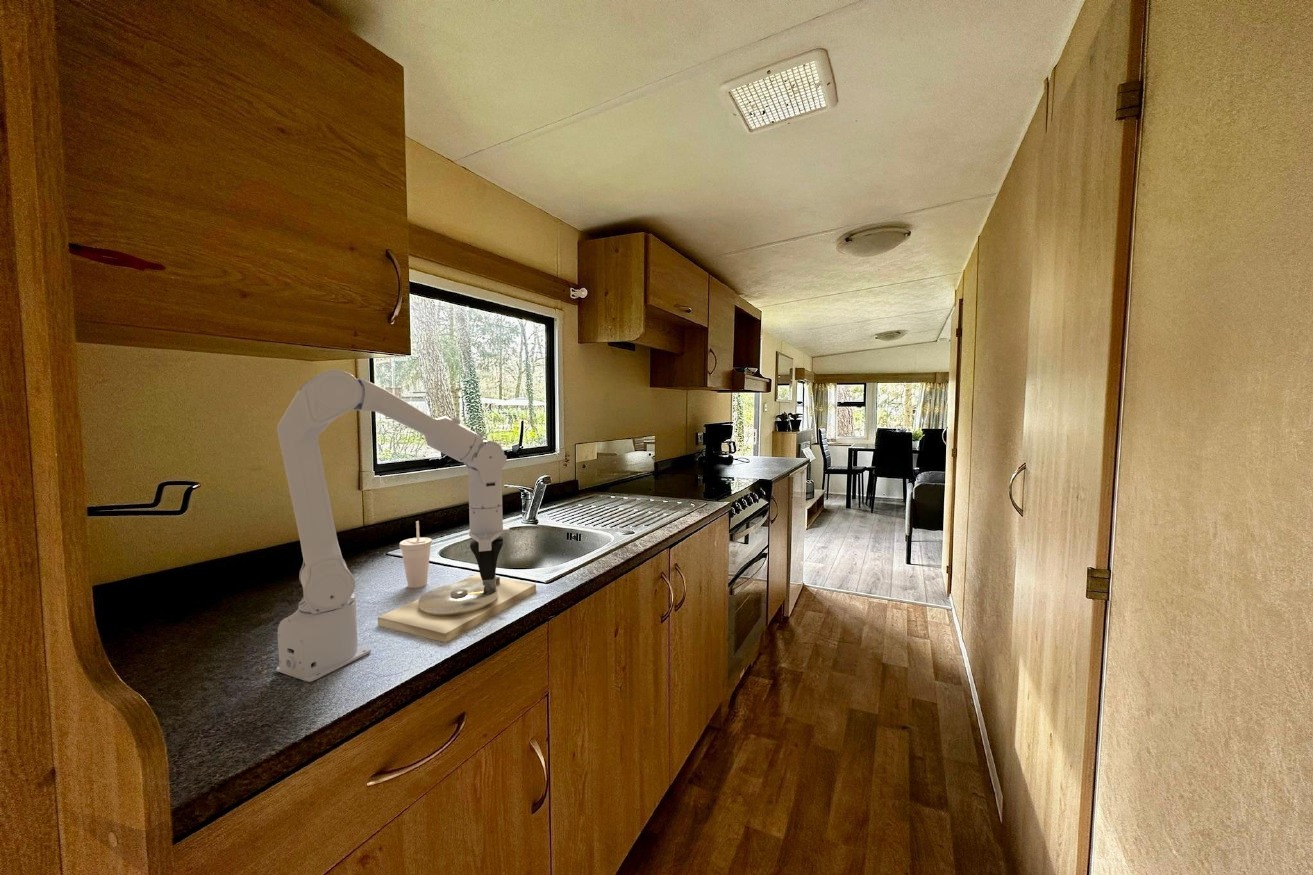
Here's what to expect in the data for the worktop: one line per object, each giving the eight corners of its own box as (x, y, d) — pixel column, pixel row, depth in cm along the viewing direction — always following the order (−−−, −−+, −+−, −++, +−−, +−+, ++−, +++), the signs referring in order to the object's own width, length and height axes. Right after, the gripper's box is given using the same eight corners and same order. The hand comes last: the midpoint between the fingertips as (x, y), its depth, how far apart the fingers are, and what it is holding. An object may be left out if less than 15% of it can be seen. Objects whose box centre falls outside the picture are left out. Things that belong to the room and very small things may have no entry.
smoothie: (420, 591, 103) (418, 525, 102) (393, 589, 104) (391, 524, 103) (440, 580, 109) (437, 518, 108) (414, 578, 110) (412, 517, 109)
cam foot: (412, 620, 85) (411, 590, 85) (425, 590, 99) (424, 565, 98) (497, 610, 89) (496, 581, 89) (498, 583, 103) (497, 558, 102)
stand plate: (445, 642, 81) (445, 626, 81) (377, 625, 87) (377, 610, 87) (535, 591, 103) (535, 578, 103) (476, 580, 109) (476, 568, 109)
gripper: (508, 512, 84) (511, 590, 85) (508, 497, 97) (510, 564, 98) (464, 515, 82) (467, 595, 83) (470, 499, 95) (473, 567, 96)
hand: (488, 578), depth 90 cm, fingers closed
